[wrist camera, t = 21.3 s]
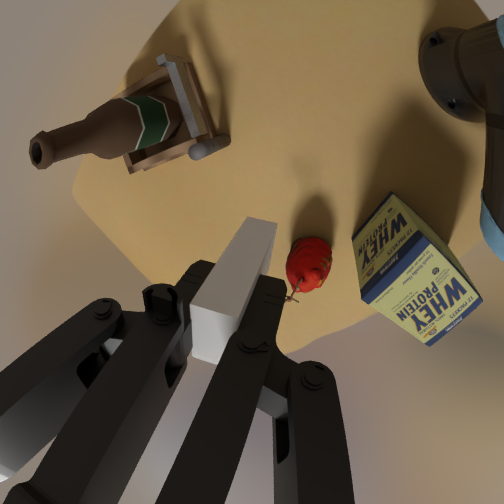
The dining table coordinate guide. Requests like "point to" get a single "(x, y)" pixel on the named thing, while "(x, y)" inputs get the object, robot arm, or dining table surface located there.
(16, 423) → the robot arm
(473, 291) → the protein box
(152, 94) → the wooden crate
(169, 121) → the beer bottle
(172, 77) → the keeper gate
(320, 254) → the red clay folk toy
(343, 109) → the dining table surface
